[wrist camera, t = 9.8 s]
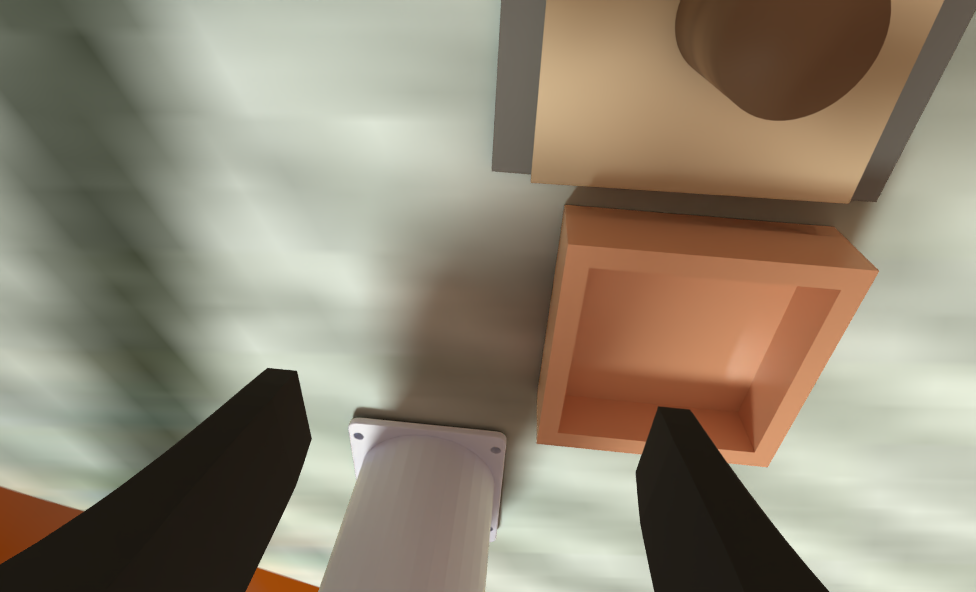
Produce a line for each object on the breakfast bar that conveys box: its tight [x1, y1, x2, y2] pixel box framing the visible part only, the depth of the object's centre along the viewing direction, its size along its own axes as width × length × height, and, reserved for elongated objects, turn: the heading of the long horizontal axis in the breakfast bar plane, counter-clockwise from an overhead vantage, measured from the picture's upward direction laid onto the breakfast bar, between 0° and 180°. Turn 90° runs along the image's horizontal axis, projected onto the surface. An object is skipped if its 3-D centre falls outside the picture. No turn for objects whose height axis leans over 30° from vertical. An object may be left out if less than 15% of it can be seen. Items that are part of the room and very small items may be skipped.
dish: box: [537, 205, 879, 467], centre depth 20 cm, size 10×10×3 cm
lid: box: [531, 0, 944, 204], centre depth 13 cm, size 10×10×5 cm
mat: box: [492, 0, 976, 202], centre depth 15 cm, size 11×13×1 cm
